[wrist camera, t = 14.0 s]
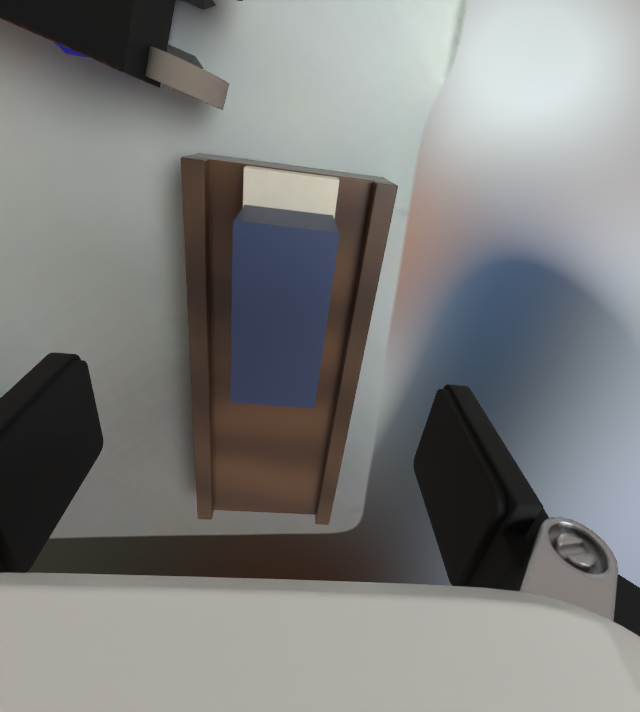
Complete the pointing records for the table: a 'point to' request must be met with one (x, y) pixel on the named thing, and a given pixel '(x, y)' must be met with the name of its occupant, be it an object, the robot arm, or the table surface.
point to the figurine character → (121, 39)
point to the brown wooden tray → (213, 348)
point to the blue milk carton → (281, 285)
